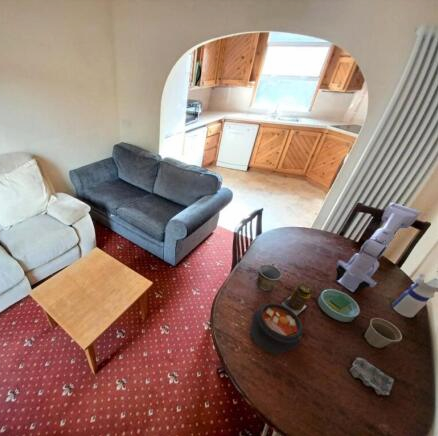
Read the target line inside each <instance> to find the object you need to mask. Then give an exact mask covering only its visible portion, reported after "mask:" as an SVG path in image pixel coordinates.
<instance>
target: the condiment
mask: <svg viewBox="0 0 438 436" xmlns="http://www.w3.org/2000/svg"><path fill="white" fill-rule="evenodd" d="M311 294H312V288H311V286H309V285H307V284H305V283H299V284H298V285H297V286H296V287H295V288H294V290H293V292H292V293H291V295H290V296H289V297H288V298H286V299H285V300H284V301H282V303H281V305H283V306H285V307H287V308H289V309H290V310H291V311H293V312H294V313H295V314H296V315H297V316H298V315H299V314H301V312H303V311H304V310H305V309H306V308H307V307H308V306H307V305H306V303H307V302H308V300H309V299H310V297H311Z"/></svg>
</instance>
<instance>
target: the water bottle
mask: <svg viewBox="0 0 438 436" xmlns="http://www.w3.org/2000/svg"><path fill="white" fill-rule="evenodd" d="M436 273H438V270H437V271H436ZM425 279H426V275H425V274H423V273H421V274H419V275H417V276H416V277H414V278H413V280H414V282H415V283H413V284H411V285H410V287H409V289H407V290H405V291H404V292H403V293H401V295H400V296H399V297H398V298H397V299H396V300H394V301H393V302H392V303H391V308H393V310H394V311H395V312H396V313H398V314H399V315H401V316H403V317H406V318H414V317H415V316H416V315H417V314H418V313H419V312H420V311H421V310H422V309H423V308H424V307H425V306H426V305H427V303H428V301H429V300H430V299H433V298H434V297H435V293H438V278H435V277H434V278H432V279H430V280H429V281H427V282H425Z"/></svg>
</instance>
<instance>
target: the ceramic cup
mask: <svg viewBox="0 0 438 436" xmlns="http://www.w3.org/2000/svg"><path fill="white" fill-rule="evenodd" d="M282 274H283V273H282V272H281V270H280V269H279V268H278V267H276V266H275V263H272V264H266V263H264V264H261V265H260V266H259V267H258V273H257V283H256V285H257V286H258V287H259V289H261V290H263V291H271V290H272V289H273V288H274V286H275V285H276V284H277V283H278V282H279V281H280V280H281V278H282V276H283V275H282Z"/></svg>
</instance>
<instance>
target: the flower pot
mask: <svg viewBox="0 0 438 436" xmlns="http://www.w3.org/2000/svg"><path fill="white" fill-rule="evenodd" d="M363 336H364V339H365V341H366V342H367V343H368V344H369V345H370V346H373V347H375V348H379V349H382V348H384V347H386V346H388V345H390V344H392V343H397V342H401V340H402V339H403V335H402V333H401V331H400V329H399V328H398V327H397V326H395V325H394V324H393V323H391V322H390V321H388V320H386V319H383V318H381V317H373V318H371V319H370V321H369V326H368V328H367V330H366V331H365V333H364V335H363Z"/></svg>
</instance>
